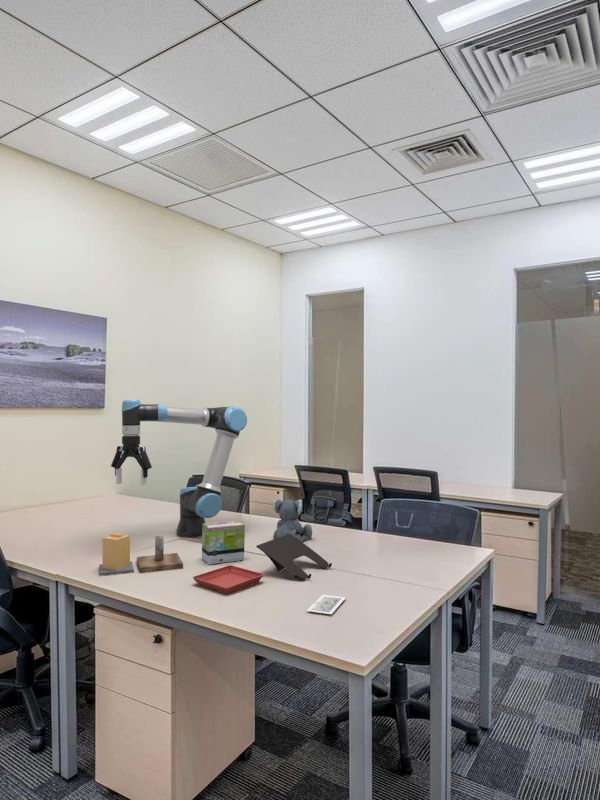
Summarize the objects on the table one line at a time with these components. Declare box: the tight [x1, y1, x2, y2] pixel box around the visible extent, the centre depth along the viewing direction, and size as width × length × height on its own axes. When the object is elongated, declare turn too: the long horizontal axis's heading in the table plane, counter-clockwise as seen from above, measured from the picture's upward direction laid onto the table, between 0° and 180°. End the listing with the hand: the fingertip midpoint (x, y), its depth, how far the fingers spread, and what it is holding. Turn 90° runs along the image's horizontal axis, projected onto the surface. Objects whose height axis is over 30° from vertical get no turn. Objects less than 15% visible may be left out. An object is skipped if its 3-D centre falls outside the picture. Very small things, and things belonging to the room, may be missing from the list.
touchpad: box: [306, 594, 346, 615], centre depth 167 cm, size 8×15×2 cm, turn 159°
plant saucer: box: [192, 565, 265, 595], centre depth 189 cm, size 18×18×3 cm
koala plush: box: [272, 498, 313, 543], centre depth 251 cm, size 17×18×20 cm
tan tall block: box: [102, 532, 131, 571], centre depth 206 cm, size 7×7×12 cm
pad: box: [99, 560, 135, 576], centre depth 206 cm, size 12×12×1 cm
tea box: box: [201, 520, 246, 566], centre depth 219 cm, size 15×10×15 cm, turn 117°
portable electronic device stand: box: [256, 533, 333, 581], centre depth 205 cm, size 23×23×9 cm
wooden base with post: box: [136, 535, 184, 574], centre depth 212 cm, size 16×16×11 cm
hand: (131, 484), depth 233 cm, fingers open, 13 cm apart
